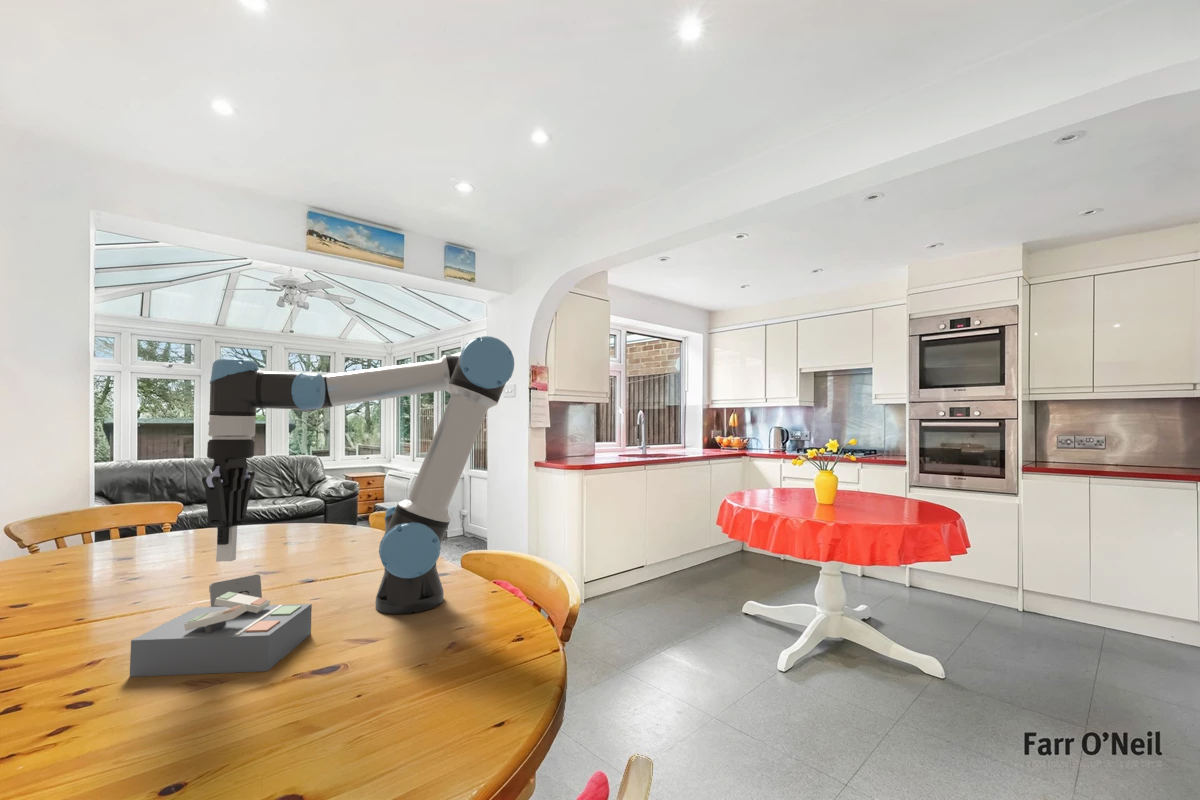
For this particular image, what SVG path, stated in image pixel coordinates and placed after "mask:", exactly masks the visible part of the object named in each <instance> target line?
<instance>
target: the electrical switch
mask: <svg viewBox="0 0 1200 800" xmlns="http://www.w3.org/2000/svg"><path fill="white" fill-rule="evenodd" d="M208 589H209V591H208V592H209V598H210V607H224V606H218V605H214V603H215V600H216V598H218V597H219V596H221V595H223V594H225V593H227V592H233V593H238V594H243V595H249V596H254V597H259V598H263V594H262V581H261V575H260V574H251V575H250V574H249V575H246V576H242V577H241V576H240V577H237V578H230V579H225V580H220V581H216V582H211V583H210V584H209V588H208Z"/></svg>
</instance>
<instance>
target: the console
mask: <svg viewBox="0 0 1200 800" xmlns="http://www.w3.org/2000/svg"><path fill="white" fill-rule="evenodd" d="M312 605H313V604H312V603H298V604H269V606H268V607H266V608H265V609H263V610H261V611H260V612H258V613H255V612H250V611H246V612H244V613H242V614H241V615H239V616H237V617H236V618H234V619H230V620H227V621H223V622H219V623H215V624H211V625H207V626H203V627H199V628H195V629H191V630H187V631H185V626H184V624H185V623H187V622H188V621H190V620H192V619H193V618H195V617H197V616H199V615H203V614H207V613H213V612H217V611H221V610H225V609H229V607H211V606H200V607H194V608H192V609H190V610H188V611H185V612H184V613H182V614H180V615H178V616H176V617H174V618H173V619H170V620H169V621H167V622H164V623H163V624H161V625H158V626H157V627H155V628H152V629H151V630H149V631H146V632H144V633H143V634H140V635H138V636H136V637H135V638H133V639H131V641H130V655H129V656H130V657H129V658H130V659H129V660H130V661H129V677H130V678H134V677H136V678H137V677H159V676H180V675H181V676H183V675H185V676H186V675H204V674H205V675H206V674H209V675H210V674H225V673H226V674H230V673H231V674H232V673H255V672H256V673H257V672H269V671H270V669H272V668H274V667H275V666H276V665H277V663H279V662H280V661H282V659H284V658H285V657H286V656H287V655H289V654H290V653H291V652H292V651H293V650H294V649H296V648H297V647H298V646H299V645H301V643H302V642H303V641H305V640H306V639H307V638H308V637H309V636H310V635H312Z"/></svg>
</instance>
